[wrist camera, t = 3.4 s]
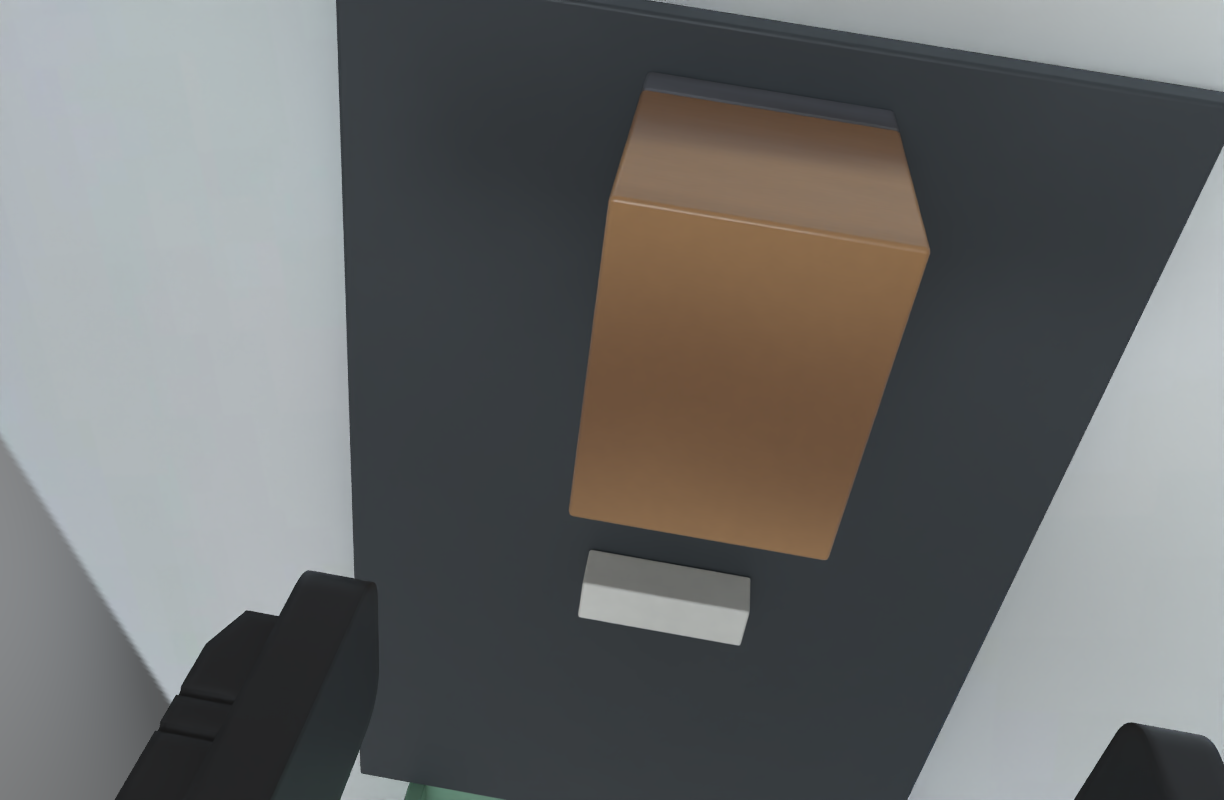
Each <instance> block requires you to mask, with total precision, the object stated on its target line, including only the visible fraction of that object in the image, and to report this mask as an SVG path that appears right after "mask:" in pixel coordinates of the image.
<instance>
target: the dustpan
mask: <svg viewBox="0 0 1224 800" xmlns="http://www.w3.org/2000/svg"><path fill="white" fill-rule="evenodd" d="M404 800H503V799H498V798H493V797H487V796H482V795H476V794H471V793H466V792H460V791H455V790H449V789H444V788H438V787H433V786H428V785H422V784H417V783H411V782H410V783H409V786H408V789H407V792H406V796H405V799H404Z"/></svg>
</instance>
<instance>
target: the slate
mask: <svg viewBox="0 0 1224 800" xmlns="http://www.w3.org/2000/svg"><path fill="white" fill-rule="evenodd" d="M336 9H337V41H338V72H339V104H340V135H341V167H342V198H343V230H344V261H345V293H346V325H347V356H348V388H349V419H350V451H351V482H352V514H353V546H354V577H355V579H360V580H365V581H371V582H374V583H375V584H376V586H377V591H378V635H379V681H378V689H377V695H376V700H375V704H374V709H373V712H372V716H371V720H370V723H369V726H368V729H367V731H366V734H365V737H364V739H363V742H362V744H361V747H360V766H361V773H363V774H368V775H373V776H379V777H384V778H390V779H395V780H400V781H406V782H411V783H417V784H422V785H428V786H433V787H438V788H444V789H449V790H455V791H460V792H466V793H471V794H476V795H482V796H487V797H493V798H498V799H503V800H907V799H908V797H909V795H910V793H911V791H912V789H913V787H914V784H915V782H916V780H917V778H918V776H919V774H920V772H921V770H922V768H923V766H924V764H925V762H926V760H927V758H928V755H929V753H930V751H931V749H932V747H933V745H934V743H935V741H936V739H937V737H938V735H939V733H940V731H941V729H942V727H943V724H944V722H945V720H946V718H947V716H948V714H949V712H950V710H951V708H952V706H953V704H954V702H955V700H956V698H957V696H958V693H959V691H960V689H961V687H962V685H963V683H964V681H965V679H966V677H967V675H968V673H969V671H970V669H971V667H972V664H973V662H974V660H975V658H976V656H977V654H978V652H979V650H980V648H981V646H982V644H983V642H984V640H985V638H986V636H987V633H988V631H989V629H990V627H991V625H992V623H993V621H994V619H995V617H996V615H997V613H998V611H999V609H1000V607H1001V605H1002V602H1003V600H1004V598H1005V596H1006V594H1007V592H1008V590H1009V588H1010V586H1011V584H1012V582H1013V580H1014V578H1015V576H1016V573H1017V571H1018V569H1019V567H1020V565H1021V563H1022V561H1023V559H1024V557H1025V555H1026V553H1027V551H1028V549H1029V547H1030V545H1031V542H1032V540H1033V538H1034V536H1035V534H1036V532H1037V530H1038V528H1039V526H1040V524H1041V522H1042V520H1043V518H1044V516H1045V514H1046V511H1047V509H1048V507H1049V505H1050V503H1051V501H1052V499H1053V497H1054V495H1055V493H1056V491H1057V489H1058V487H1059V485H1060V482H1061V480H1062V478H1063V476H1064V474H1065V472H1066V470H1067V468H1068V466H1069V464H1070V462H1071V460H1072V458H1073V456H1074V454H1075V451H1076V449H1077V447H1078V445H1079V443H1080V441H1081V439H1082V437H1083V435H1084V433H1085V431H1086V429H1087V427H1088V425H1089V423H1090V420H1091V418H1092V416H1093V414H1094V412H1095V410H1096V408H1097V406H1098V404H1099V402H1100V400H1101V398H1102V396H1103V394H1104V392H1105V389H1106V387H1107V385H1108V383H1109V381H1110V379H1111V377H1112V375H1113V373H1114V371H1115V369H1116V367H1117V365H1118V363H1119V360H1120V358H1121V356H1122V354H1123V352H1124V350H1125V348H1126V346H1127V344H1128V342H1129V340H1130V338H1131V336H1132V334H1133V332H1134V329H1135V327H1136V325H1137V323H1138V321H1139V319H1140V317H1141V315H1142V313H1143V311H1144V309H1145V307H1146V305H1147V303H1148V301H1149V298H1150V296H1151V294H1152V292H1153V290H1154V288H1155V286H1156V284H1157V282H1158V280H1159V278H1160V276H1161V274H1162V272H1163V269H1164V267H1165V265H1166V263H1167V261H1168V259H1169V257H1170V255H1171V253H1172V251H1173V249H1174V247H1175V245H1176V243H1177V241H1178V238H1179V236H1180V234H1181V232H1182V230H1183V228H1184V226H1185V224H1186V222H1187V220H1188V218H1189V216H1190V214H1191V212H1192V210H1193V207H1194V205H1195V203H1196V201H1197V199H1198V197H1199V195H1200V193H1201V191H1202V189H1203V187H1204V185H1205V183H1206V181H1207V178H1208V176H1209V174H1210V172H1211V170H1212V168H1213V166H1214V164H1215V162H1216V160H1217V158H1218V156H1219V154H1220V152H1221V150H1222V147H1223V145H1224V92H1219V91H1213V90H1206V89H1200V88H1194V87H1188V86H1181V85H1175V84H1169V83H1163V82H1156V81H1150V80H1144V79H1138V78H1131V77H1125V76H1119V75H1112V74H1106V73H1100V72H1094V71H1087V70H1081V69H1075V68H1069V67H1062V66H1056V65H1050V64H1044V63H1037V62H1031V61H1025V60H1019V59H1012V58H1006V57H1000V56H993V55H987V54H981V53H975V52H968V51H962V50H956V49H950V48H943V47H937V46H931V45H925V44H918V43H912V42H906V41H899V40H893V39H887V38H881V37H874V36H868V35H862V34H856V33H849V32H843V31H837V30H831V29H824V28H818V27H812V26H806V25H799V24H793V23H787V22H780V21H774V20H768V19H762V18H755V17H749V16H743V15H737V14H730V13H724V12H718V11H712V10H705V9H699V8H693V7H687V6H680V5H674V4H668V3H661V2H655V1H649V0H336ZM649 72H656V73H662V74H668V75H675V76H681V77H687V78H693V79H699V80H705V81H712V82H718V83H724V84H730V85H736V86H743V87H749V88H755V89H761V90H767V91H773V92H780V93H786V94H792V95H798V96H804V97H811V98H817V99H823V100H829V101H835V102H841V103H848V104H854V105H860V106H866V107H872V108H879V109H885V110H891V111H892V112H894V114H895V118H896V122H897V126H898V130H899V133H900V136H901V140H902V144H903V148H904V152H905V156H906V159H907V163H908V167H909V171H910V175H911V178H912V182H913V186H914V190H915V194H916V198H917V201H918V205H919V209H920V213H921V217H922V221H923V224H924V228H925V232H926V236H927V240H928V243H929V247H930V255H929V258H928V261H927V264H926V267H925V270H924V273H923V276H922V279H921V282H920V285H919V288H918V291H917V294H916V297H915V300H914V303H913V306H912V309H911V312H910V315H909V318H908V321H907V324H906V327H905V330H904V333H903V336H902V339H901V342H900V345H899V348H898V351H897V354H896V357H895V360H894V363H893V366H892V369H891V372H890V375H889V378H888V381H887V384H886V387H885V390H884V393H883V396H882V399H881V402H880V405H879V408H878V411H877V414H876V417H875V420H874V423H873V426H872V429H871V432H870V435H869V438H868V441H867V444H866V447H865V450H864V453H863V456H862V459H861V462H860V465H859V468H858V471H857V474H856V477H855V480H854V483H853V486H852V489H851V492H850V495H849V498H848V501H847V504H846V507H845V510H844V513H843V516H842V519H841V522H840V525H839V528H838V531H837V534H836V537H835V540H834V543H833V546H832V549H831V552H830V555H829V557H828V559H827V560H819V559H813V558H808V557H802V556H796V555H791V554H785V553H779V552H774V551H768V550H762V549H756V548H751V547H745V546H739V545H734V544H728V543H722V542H717V541H711V540H705V539H700V538H694V537H688V536H682V535H677V534H671V533H665V532H660V531H654V530H648V529H643V528H637V527H631V526H625V525H620V524H614V523H608V522H603V521H597V520H591V519H586V518H580V517H574V516H571V515H570V513H569V504H570V496H571V488H572V480H573V472H574V465H575V457H576V449H577V441H578V434H579V426H580V418H581V410H582V403H583V395H584V387H585V379H586V371H587V364H588V356H589V348H590V340H591V333H592V325H593V317H594V309H595V302H596V294H597V286H598V278H599V270H600V263H601V255H602V247H603V239H604V232H605V224H606V216H607V208H608V200H609V197H610V193H611V190H612V187H613V183H614V180H615V177H616V173H617V170H618V167H619V164H620V160H621V157H622V154H623V150H624V147H625V144H626V140H627V137H628V134H629V131H630V127H631V124H632V121H633V117H634V114H635V111H636V107H637V104H638V101H639V97H640V94H641V91H642V88H643V84H644V81H645V78H646V75H647V74H648V73H649ZM590 550H595V551H601V552H607V553H612V554H618V555H624V556H629V557H635V558H641V559H646V560H652V561H658V562H664V563H669V564H675V565H681V566H686V567H692V568H698V569H703V570H709V571H715V572H720V573H726V574H732V575H737V576H743V577H748V578H750V613H749V617H748V620H747V624H746V627H745V631H744V634H743V638H742V641H741V644H740V645H733V644H727V643H721V642H716V641H710V640H705V639H699V638H693V637H688V636H682V635H677V634H671V633H665V632H660V631H654V630H649V629H643V628H637V627H632V626H626V625H621V624H615V623H609V622H604V621H598V620H592V619H587V618H581V617H579V616H578V612H579V605H580V598H581V591H582V584H583V579H584V574H585V569H586V565H587V560H588V555H589V551H590Z"/></svg>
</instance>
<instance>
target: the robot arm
mask: <svg viewBox="0 0 1224 800" xmlns="http://www.w3.org/2000/svg"><path fill="white" fill-rule="evenodd" d="M378 681H379V635H378V591H377V586H376V584H375V583H374V582H371V581H365V580H360V579H354V578H349V577H343V576H338V575H332V574H327V573H321V572H316V571H309V570H308V571H306V572H304V573H303V574H302V575H301V577H300V578H299V580H298V581H297V583H296V585H295V587H294V589H293V590H292V592H291V594H290V596H289V598H288V600H287V602H286V604H285V606H284V608H283V609H282V611H281V613H280V615H279V616H274V615H269V614H263V613H258V612H253V611H247V610H246V611H245V612H244V613H243V614H242V615H240V616H239V617H238V618H237V619H236V620H234V621H233V622H232V623H231V624H229V625H228V626H227V627H226V628H225V629H223V630H222V631H221V632H220V633H219V634H217V635H216V636H215V637H214V638H212V639H211V640H210V641H209V642H208V643H206V645H205V646H204V648H203V650H202V651H201V653H200V655H199V657H198V658H197V660H196V662H195V663H194V665H193V667H192V669H191V670H190V672H189V674H188V675H187V677H186V679H185V681H184V682H183V684H182V686H181V691H180V694H179V695H176V696H175V698H174V699H173V701H172V703H171V704H170V706H169V708H168V710H167V711H166V713H165V715H164V716H163V718H162V720H161V722H160V728H159V730H158V731H155V732H154V734H153V735H152V737H151V739H150V740H149V742H148V744H147V746H146V747H145V749H144V751H143V752H142V754H141V756H140V757H139V759H138V761H137V763H136V764H135V766H134V768H133V769H132V771H131V773H130V775H129V776H128V778H127V780H126V781H125V783H124V785H123V787H122V788H121V790H120V792H119V793H118V795H117V797H116V798H115V800H340V799H341V796H342V793H343V791H344V788H345V786H346V783H347V781H348V778H349V775H350V773H351V770H352V768H353V765H354V762H355V760H356V757H357V755H358V752H359V750H360V747H361V744H362V742H363V739H364V737H365V734H366V731H367V729H368V726H369V723H370V720H371V716H372V712H373V709H374V704H375V700H376V695H377V689H378ZM1074 800H1224V764H1223V762H1222V759H1221V756H1220V754H1219V752H1218V750H1217V748H1216V747H1215V745H1214V744H1213V743H1212V742H1211V741H1210V740H1209V739H1208V738H1207V737H1205V736H1202V735H1198V734H1192V733H1187V732H1181V731H1176V730H1170V729H1165V728H1159V727H1154V726H1148V725H1143V724H1137V723H1126V724H1124V725H1123V726H1122V727H1121V728H1120V729H1119V730H1118V731H1117V733H1116V734H1115V736H1114V737H1113V739H1112V740H1111V742H1110V744H1109V745H1108V747H1107V748H1106V750H1105V751H1104V753H1103V755H1102V756H1101V758H1100V759H1099V761H1098V763H1097V764H1096V766H1095V767H1094V769H1093V770H1092V772H1091V774H1090V775H1089V777H1088V778H1087V780H1086V782H1085V783H1084V785H1083V786H1082V788H1081V789H1080V791H1079V793H1078V794H1077V796H1076V797H1075V799H1074Z"/></svg>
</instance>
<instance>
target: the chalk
mask: <svg viewBox="0 0 1224 800" xmlns="http://www.w3.org/2000/svg"><path fill="white" fill-rule="evenodd" d="M749 613H750V578H748V577H743V576H737V575H732V574H726V573H720V572H715V571H709V570H703V569H698V568H692V567H686V566H681V565H675V564H669V563H664V562H658V561H652V560H646V559H641V558H635V557H629V556H624V555H618V554H612V553H607V552H601V551H595V550H590V551H589V555H588V560H587V565H586V569H585V574H584V579H583V584H582V591H581V598H580V605H579V612H578V616H579V617H581V618H587V619H592V620H598V621H604V622H609V623H615V624H621V625H626V626H632V627H637V628H643V629H649V630H654V631H660V632H665V633H671V634H677V635H682V636H688V637H693V638H699V639H705V640H710V641H716V642H721V643H727V644H733V645H740V644H741V641H742V638H743V634H744V631H745V627H746V624H747V620H748V617H749Z"/></svg>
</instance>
